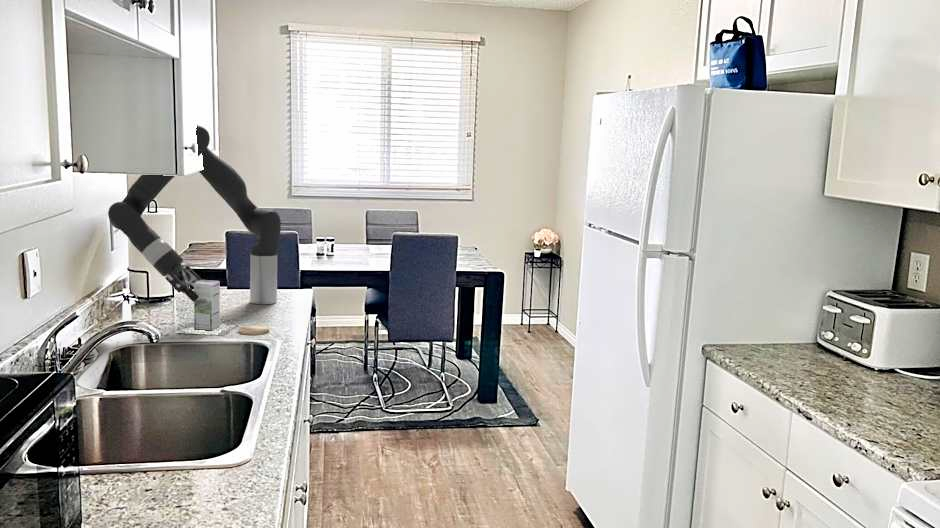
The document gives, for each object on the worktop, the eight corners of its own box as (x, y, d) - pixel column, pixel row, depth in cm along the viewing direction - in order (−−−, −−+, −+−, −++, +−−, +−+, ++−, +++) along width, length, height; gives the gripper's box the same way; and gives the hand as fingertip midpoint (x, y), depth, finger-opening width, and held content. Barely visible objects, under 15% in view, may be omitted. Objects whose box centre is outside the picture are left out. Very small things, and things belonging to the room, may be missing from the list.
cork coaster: (243, 327, 225) (243, 325, 225) (272, 328, 226) (272, 326, 226) (234, 334, 217) (234, 332, 216) (265, 335, 217) (265, 333, 217)
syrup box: (220, 327, 223) (220, 280, 221) (211, 331, 218) (211, 283, 215) (202, 325, 224) (202, 279, 222) (193, 330, 218) (193, 282, 216)
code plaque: (192, 322, 228) (192, 322, 227) (237, 324, 228) (237, 324, 228) (174, 333, 214) (174, 333, 214) (223, 335, 214) (223, 335, 214)
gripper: (161, 251, 210) (202, 292, 212) (180, 245, 224) (218, 284, 226) (143, 269, 211) (183, 310, 213) (163, 262, 225) (201, 300, 227)
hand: (201, 296), depth 219 cm, fingers open, 8 cm apart
